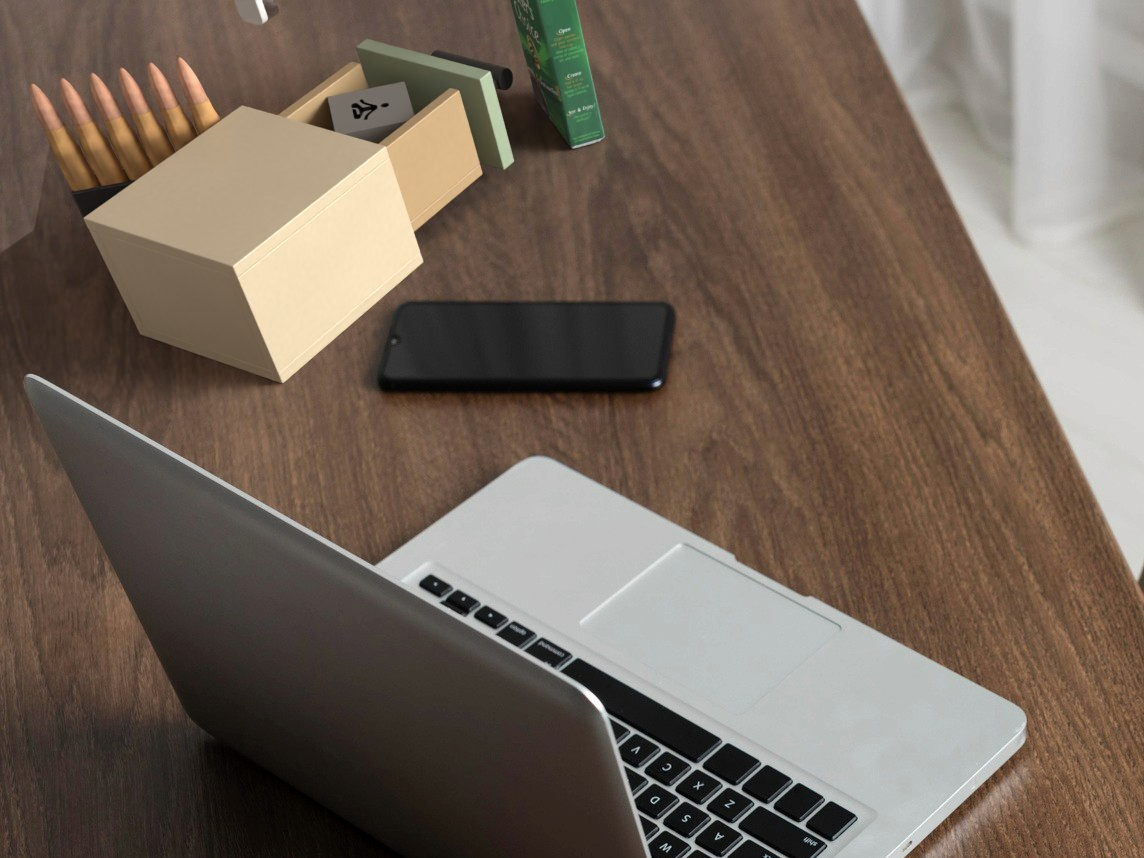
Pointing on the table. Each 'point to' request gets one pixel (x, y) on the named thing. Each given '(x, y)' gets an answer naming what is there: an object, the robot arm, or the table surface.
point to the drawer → (426, 119)
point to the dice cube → (371, 111)
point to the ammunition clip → (121, 132)
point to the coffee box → (559, 67)
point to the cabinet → (258, 241)
